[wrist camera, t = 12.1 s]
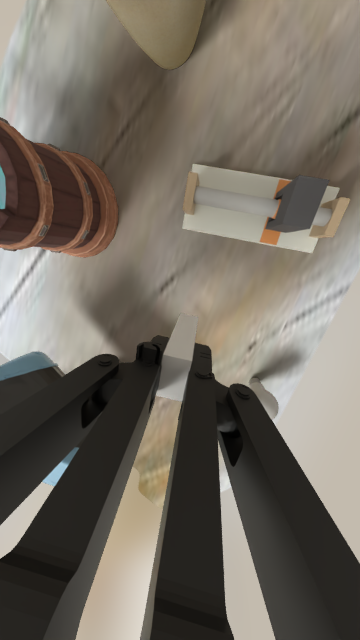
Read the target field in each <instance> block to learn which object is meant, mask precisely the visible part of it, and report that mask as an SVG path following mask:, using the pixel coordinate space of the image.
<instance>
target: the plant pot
mask: <svg viewBox="0 0 360 640" xmlns="http://www.w3.org/2000/svg"><path fill="white" fill-rule="evenodd" d="M106 1H107V3H108V4H109V6H110V7H111V9H112V10H113V12H114V13H115V15H116V16H117V18H118V19H119V21H120V22H121V23H122V25H123V26H124V27H125V29H126V30H127V31H128V33H129V34H130V35H131V37H132V38H133V39H134V40H135V42H136V43H137V44H138V45H139V46H140V47H141V49H142V50H143V51H144V52H145V53H146V54H147V55H148V56H149V57H150V58H151V59H152V60H153V61H154V62H155V63H156V64H157V65H158V66H160V67H161V68H164V69H169V70H171V69H175V68H178V67H179V66H181V65H182V64H183V63H184V62H185V61H186V60H187V59H188V57H189V56H190V54H191V52H192V50H193V47H194V44H195V41H196V38H197V35H198V31H199V28H200V24H201V20H202V16H203V12H204V8H205V3H206V0H106Z"/></svg>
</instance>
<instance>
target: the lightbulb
mask: <svg viewBox="0 0 360 640" xmlns="http://www.w3.org/2000/svg"><path fill="white" fill-rule="evenodd" d="M249 385H250V387H249V388H250V389H252V390H253V391H254V393H255V394H256V395H257V397H258V398H259V400H260V402H261V403H262V405H263V407H264V408H265V410H266V412H267V413H268V415H269V416H270V418H271V420H272V419H274V418H275V417H276V415H277V413H278V402H277V400H276V398H275V397H274V396H273V395H272V394H271V393H270V392H268V391H267V390H265V389H264V387H263V385H262V384H261V382H260V380H259V379H258V378H252V379H250V381H249Z"/></svg>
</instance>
